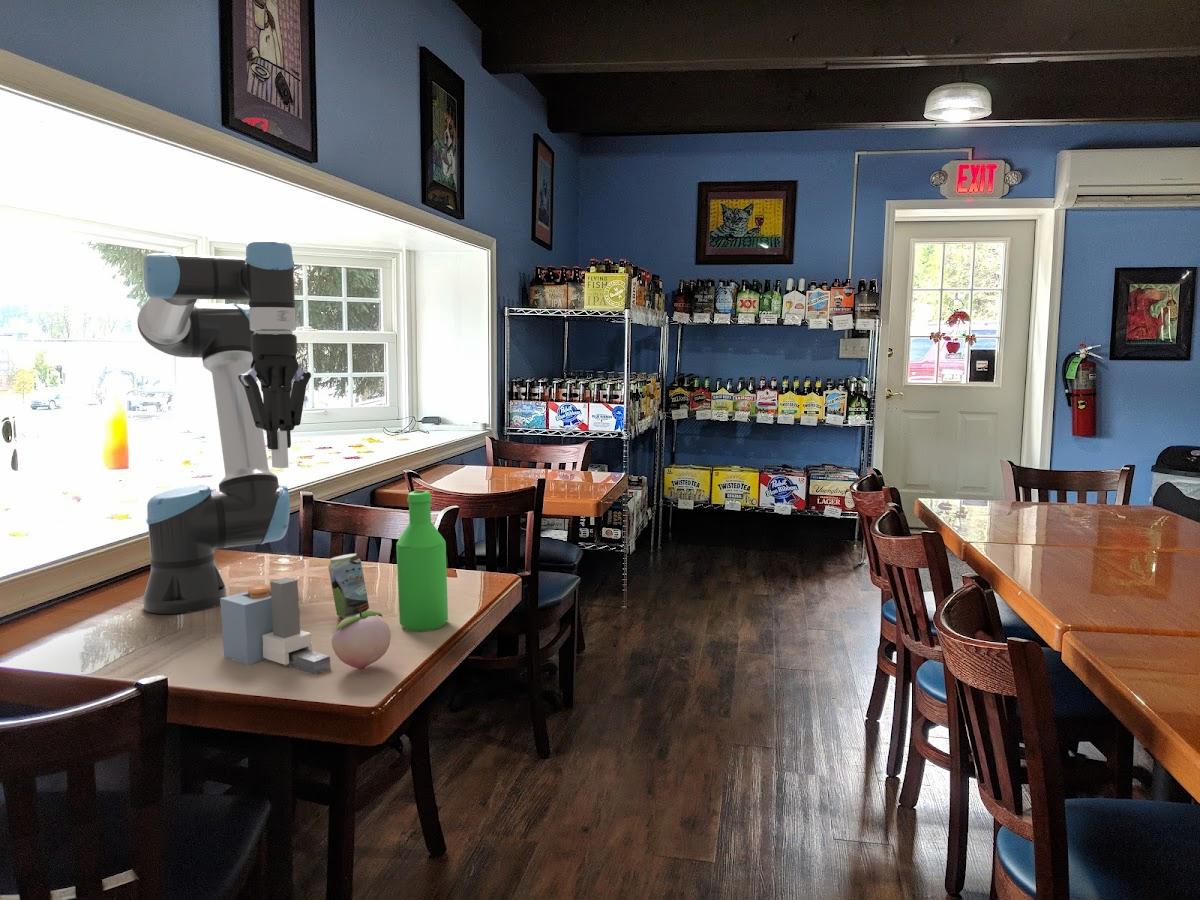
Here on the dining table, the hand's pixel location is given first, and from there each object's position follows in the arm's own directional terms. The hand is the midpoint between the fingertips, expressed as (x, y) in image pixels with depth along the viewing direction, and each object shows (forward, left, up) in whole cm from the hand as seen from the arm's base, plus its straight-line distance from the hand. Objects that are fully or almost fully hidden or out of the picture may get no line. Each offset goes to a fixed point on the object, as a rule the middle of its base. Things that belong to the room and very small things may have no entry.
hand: (280, 467), depth 151 cm
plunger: (+5, -9, -24) cm, 26 cm away
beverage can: (+2, +12, -30) cm, 33 cm away
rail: (+15, -9, -30) cm, 35 cm away
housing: (+5, -9, -30) cm, 32 cm away
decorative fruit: (+26, -5, -30) cm, 40 cm away
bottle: (+18, +16, -30) cm, 39 cm away
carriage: (+12, -9, -30) cm, 34 cm away
